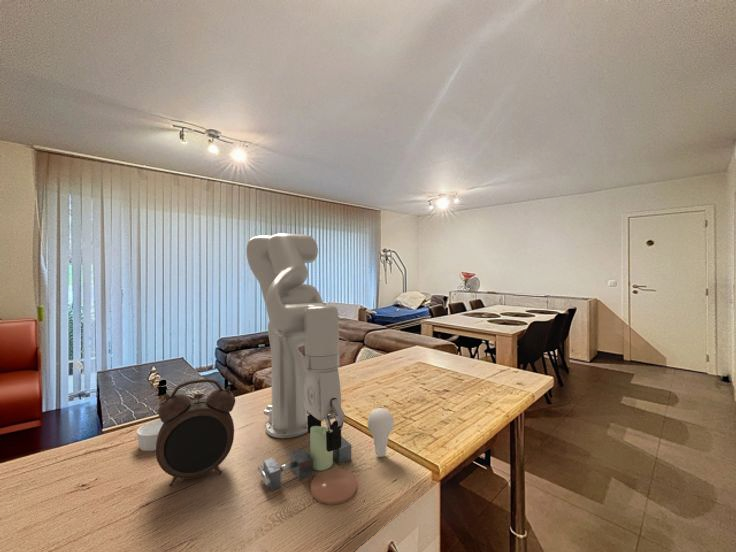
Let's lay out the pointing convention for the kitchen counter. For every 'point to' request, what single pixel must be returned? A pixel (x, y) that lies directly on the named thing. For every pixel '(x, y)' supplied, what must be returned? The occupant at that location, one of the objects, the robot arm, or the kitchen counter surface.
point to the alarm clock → (195, 432)
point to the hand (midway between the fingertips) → (323, 439)
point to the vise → (299, 464)
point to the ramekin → (149, 435)
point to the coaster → (334, 486)
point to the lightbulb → (380, 429)
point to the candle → (320, 448)
